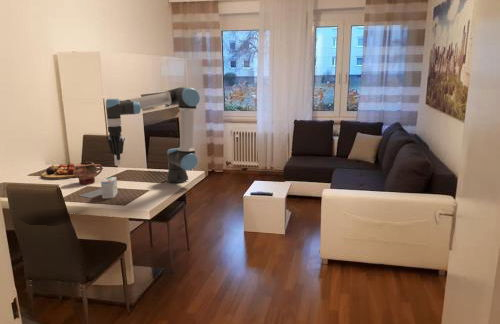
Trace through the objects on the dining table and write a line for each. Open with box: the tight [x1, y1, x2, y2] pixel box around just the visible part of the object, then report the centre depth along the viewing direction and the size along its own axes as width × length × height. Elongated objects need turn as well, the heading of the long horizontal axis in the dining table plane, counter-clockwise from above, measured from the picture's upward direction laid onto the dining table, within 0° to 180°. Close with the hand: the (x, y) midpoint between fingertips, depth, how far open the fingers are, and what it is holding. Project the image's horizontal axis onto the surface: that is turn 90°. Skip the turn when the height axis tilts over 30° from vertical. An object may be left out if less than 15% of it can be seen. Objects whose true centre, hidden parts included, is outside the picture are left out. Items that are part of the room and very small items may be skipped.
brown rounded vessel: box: [73, 161, 103, 185], centre depth 265 cm, size 20×12×14 cm, turn 138°
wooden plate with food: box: [41, 162, 78, 180], centre depth 289 cm, size 32×32×8 cm
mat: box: [78, 188, 102, 199], centre depth 241 cm, size 11×18×1 cm, turn 152°
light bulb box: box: [100, 176, 119, 199], centre depth 234 cm, size 11×7×11 cm, turn 5°
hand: (117, 165), depth 226 cm, fingers closed
